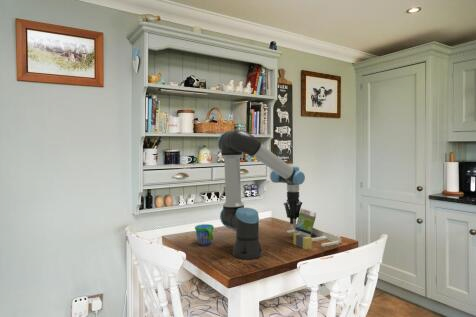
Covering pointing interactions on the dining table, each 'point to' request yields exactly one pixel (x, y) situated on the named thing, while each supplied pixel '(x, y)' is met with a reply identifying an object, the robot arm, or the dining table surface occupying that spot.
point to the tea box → (305, 222)
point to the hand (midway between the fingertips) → (292, 229)
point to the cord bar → (302, 241)
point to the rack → (323, 236)
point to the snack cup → (204, 233)
